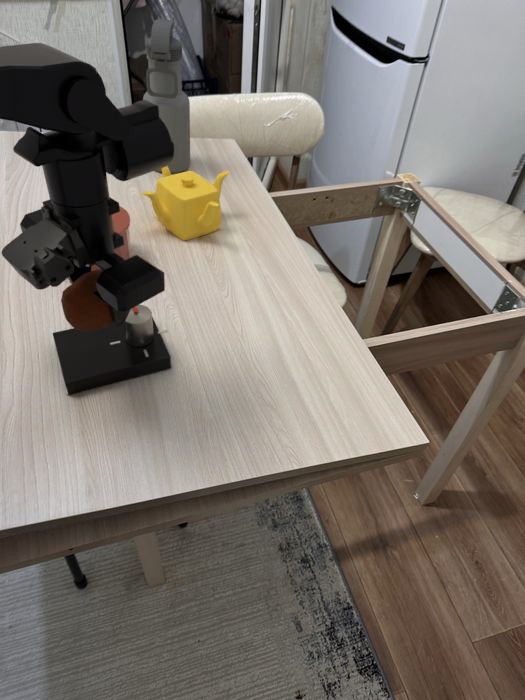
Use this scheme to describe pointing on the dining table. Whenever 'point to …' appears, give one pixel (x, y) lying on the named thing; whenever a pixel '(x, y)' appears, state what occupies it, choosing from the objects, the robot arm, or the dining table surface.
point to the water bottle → (169, 90)
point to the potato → (85, 304)
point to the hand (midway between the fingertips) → (101, 310)
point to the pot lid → (121, 221)
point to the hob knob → (139, 327)
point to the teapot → (187, 203)
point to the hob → (106, 357)
